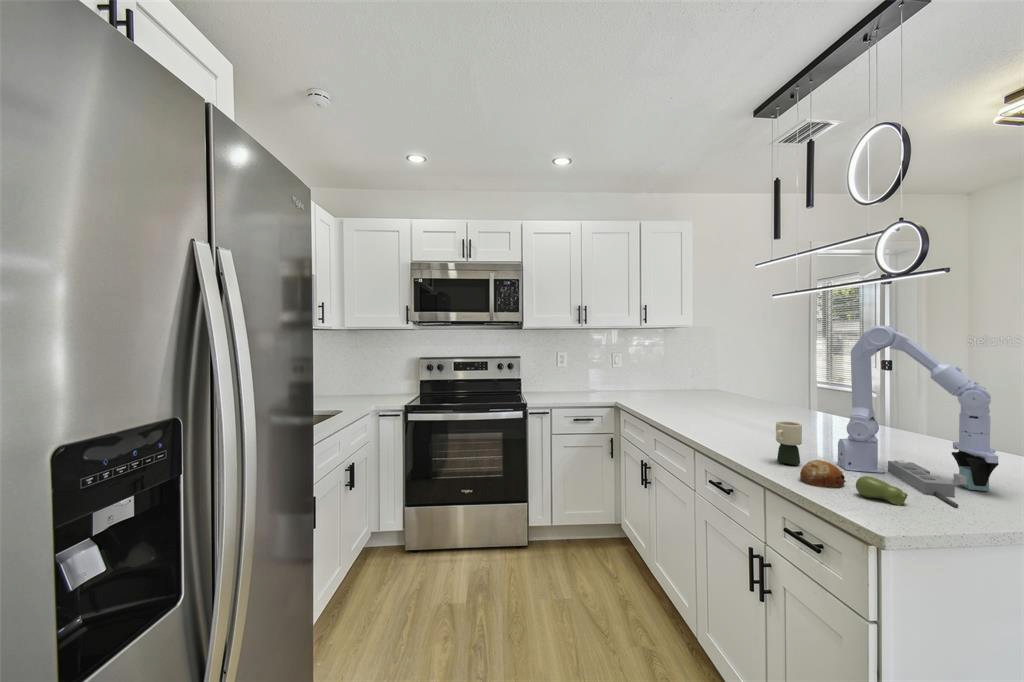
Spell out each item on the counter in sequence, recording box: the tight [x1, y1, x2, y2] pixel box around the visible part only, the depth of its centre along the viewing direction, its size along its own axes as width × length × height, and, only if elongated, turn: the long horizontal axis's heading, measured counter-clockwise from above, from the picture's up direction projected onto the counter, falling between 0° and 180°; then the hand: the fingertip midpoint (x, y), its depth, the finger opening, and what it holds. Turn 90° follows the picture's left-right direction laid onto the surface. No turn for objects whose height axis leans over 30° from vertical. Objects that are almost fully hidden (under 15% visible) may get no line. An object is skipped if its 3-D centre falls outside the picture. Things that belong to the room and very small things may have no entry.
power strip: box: [887, 459, 959, 508], centre depth 119 cm, size 6×28×4 cm, turn 161°
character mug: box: [775, 420, 803, 466], centre depth 141 cm, size 11×7×13 cm, turn 115°
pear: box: [855, 475, 909, 506], centre depth 111 cm, size 6×5×10 cm
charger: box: [953, 466, 990, 492], centre depth 118 cm, size 6×4×5 cm
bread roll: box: [799, 459, 846, 489], centre depth 124 cm, size 10×10×8 cm
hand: (973, 482), depth 118 cm, fingers closed on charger, 4 cm apart
